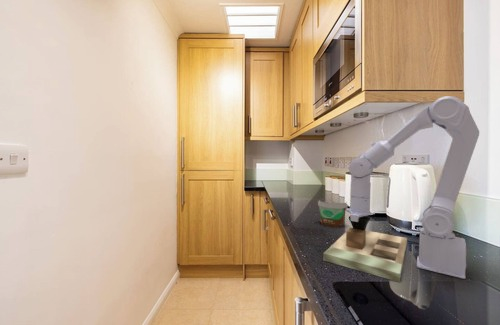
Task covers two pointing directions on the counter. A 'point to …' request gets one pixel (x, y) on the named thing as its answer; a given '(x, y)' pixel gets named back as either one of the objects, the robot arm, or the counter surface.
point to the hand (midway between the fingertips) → (359, 239)
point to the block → (356, 238)
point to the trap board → (371, 255)
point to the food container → (332, 213)
